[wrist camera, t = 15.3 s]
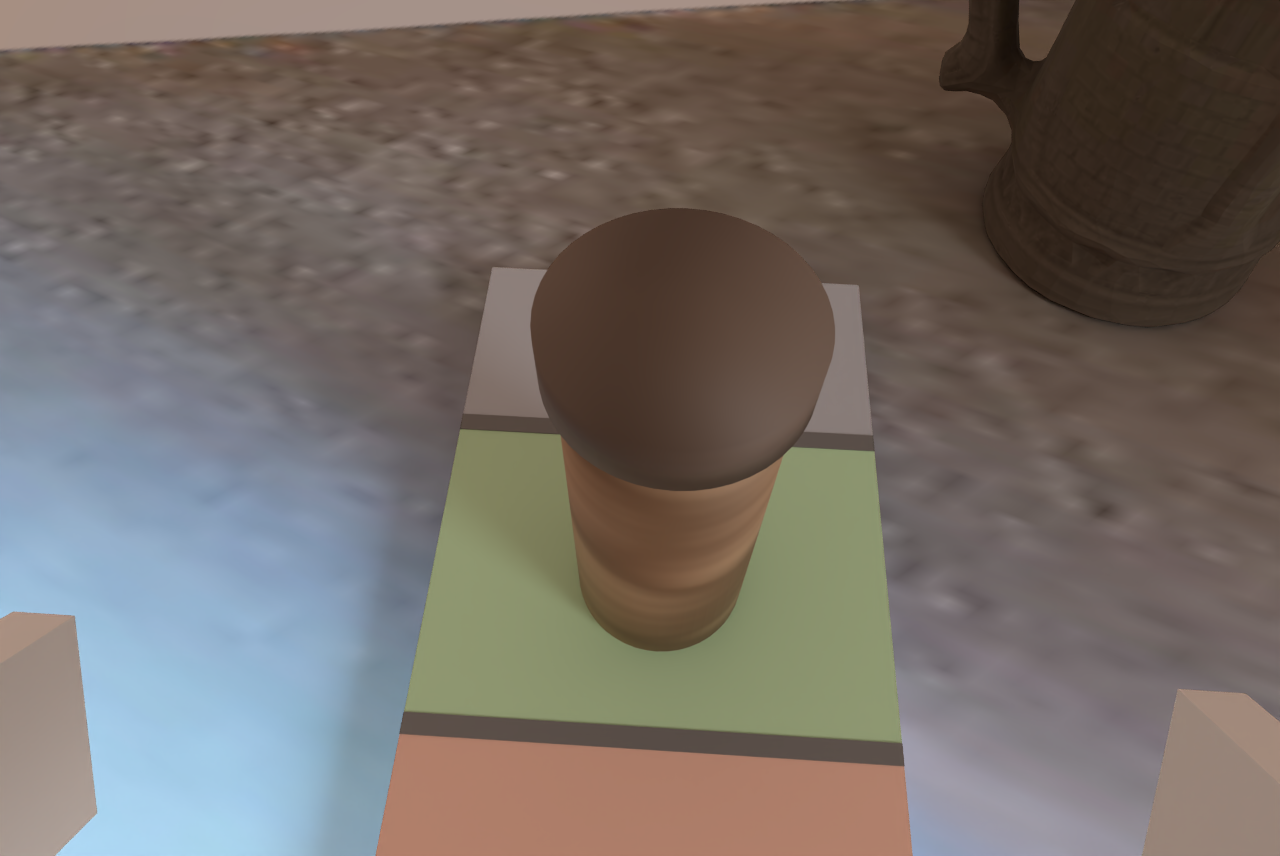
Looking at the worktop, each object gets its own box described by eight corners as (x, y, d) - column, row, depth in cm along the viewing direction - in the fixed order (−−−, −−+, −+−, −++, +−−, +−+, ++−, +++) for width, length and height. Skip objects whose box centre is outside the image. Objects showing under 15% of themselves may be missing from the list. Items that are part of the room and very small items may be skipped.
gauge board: (850, 308, 34) (858, 284, 33) (915, 1062, 21) (933, 1068, 20) (497, 291, 34) (492, 266, 33) (358, 1021, 22) (341, 1024, 20)
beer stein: (1281, 197, 37) (1758, -454, 20) (1246, 377, 32) (1840, -290, 15) (930, 107, 42) (1086, -484, 25) (852, 252, 37) (983, -365, 20)
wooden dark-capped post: (750, 495, 28) (826, 215, 17) (752, 667, 25) (845, 459, 14) (578, 485, 28) (548, 201, 17) (560, 655, 25) (510, 441, 14)
